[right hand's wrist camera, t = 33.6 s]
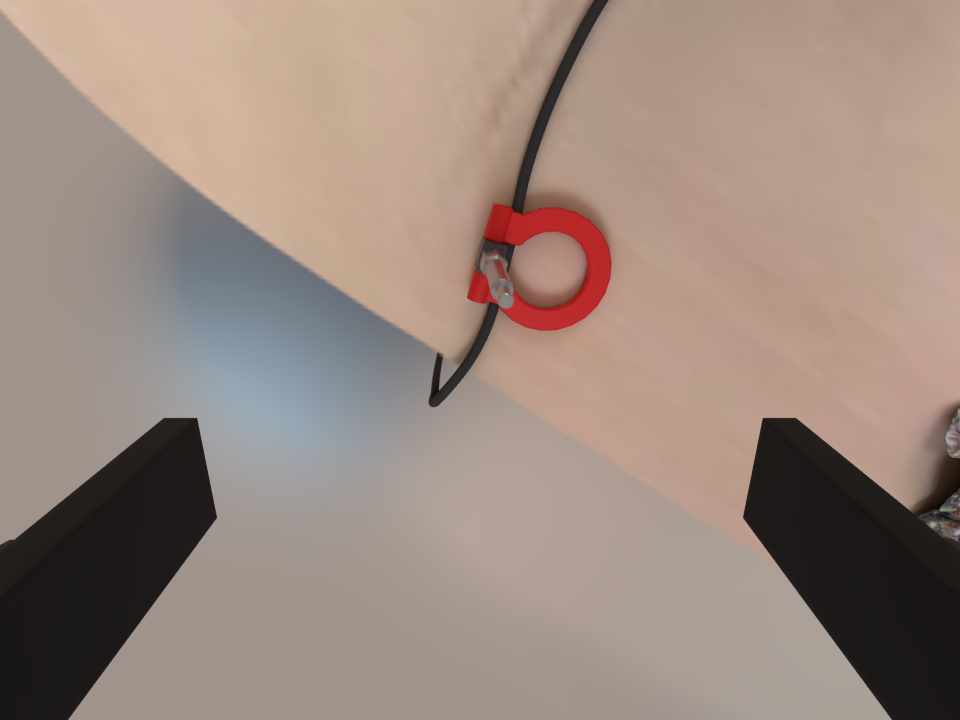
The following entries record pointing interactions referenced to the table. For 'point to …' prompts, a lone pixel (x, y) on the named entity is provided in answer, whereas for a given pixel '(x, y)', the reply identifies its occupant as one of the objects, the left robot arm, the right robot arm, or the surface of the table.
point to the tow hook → (516, 230)
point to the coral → (956, 513)
